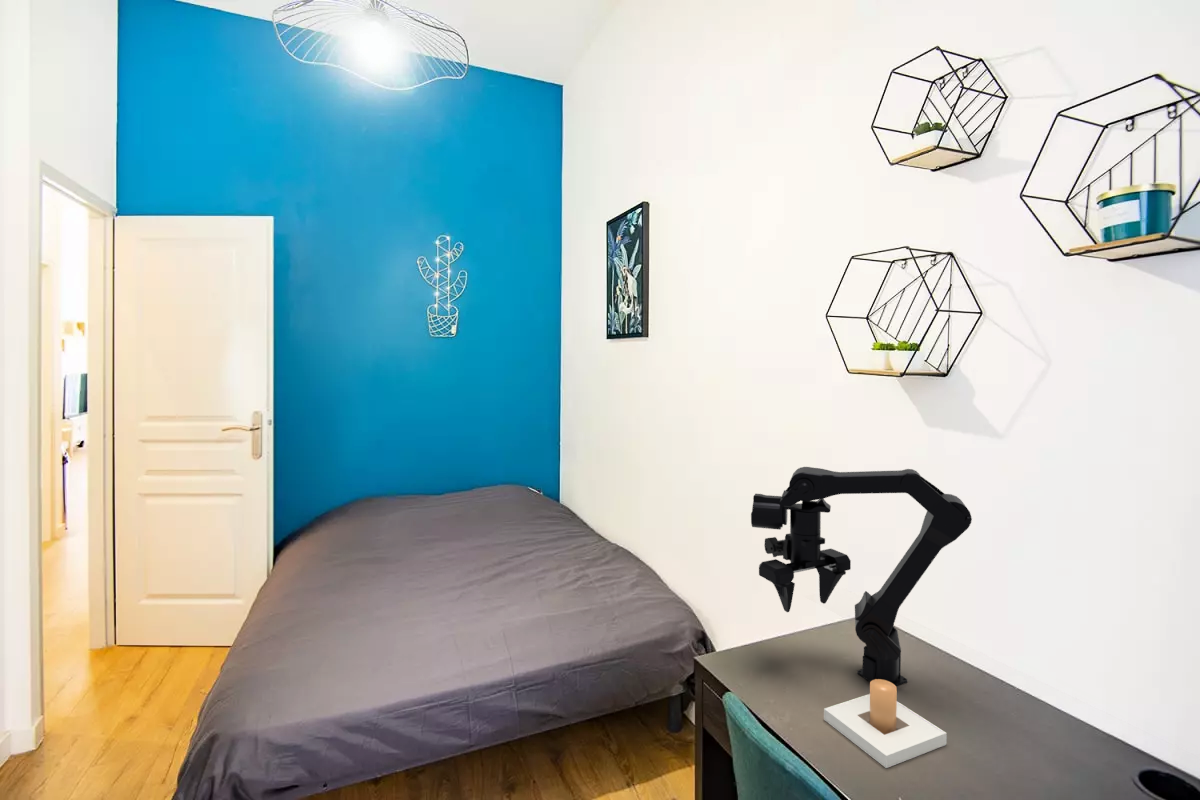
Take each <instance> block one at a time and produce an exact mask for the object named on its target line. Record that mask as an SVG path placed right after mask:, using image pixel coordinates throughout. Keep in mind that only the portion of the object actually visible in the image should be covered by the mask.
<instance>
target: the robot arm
mask: <svg viewBox="0 0 1200 800" xmlns="http://www.w3.org/2000/svg"><path fill="white" fill-rule="evenodd" d="M849 494H850V495H851V494H852V495H854V494H861V495H862V494H907V495H909V496H910V497H911V498H913V500H915V501H916V502H917V503H918V504H919V505H920V506H921V507H923V509H924V510H926V513H925V516H924V518H923V521H922V523H921V525H922V526H921V529H920V531H919V534H917V536H916V538H915V539H914V541H913V542H912V543H911V545H910V546H909V547H908V549H907V550H906V552H905V553H904V555H903V556H902V558H901V559H900V560H899V562H898V563H897V565H896V566H895V567H894V569H893V571H892V572H891V574H890V575H889V576H888V578H887V579H886V581H885V582H884V584H883V585H882V586H881V588H880V589H879V590H878V591H877V592H875V593H874V594H870V593H869V592H868V591H866V590H865V591H864V592H863V595H862V597H861V599H860V600H859V601H858V602H857V603H855V604H854V626H855V627H854V628H855V634H856V637H858V639H859V640H860V641H861V642H862V643H864V644H865V646H863V655H862V669H858V670H856V673H857V675H859V676H860V677H862V678H863V679H865V680H867V681H868V682H869V683H870V682H871V681H872V680H875V679H882V680H886V681H889V682H891V683H893V684H894V685H895V686H896V687H897V686H901V685H903V684H906V683H908V678H906V677H904V676H903V675H901V673H902V672H901V667H902V666H901V664H902V663H901V662H902V657H901V656H902V654H901V652H902V647H901V643H900V638H899V637H900V636H899V633H898V629H897V628H895V626H894V625H895V622H896V618H897V615H898V612H899V610H900V609H899V608H900V607H901V606H902V605H903V603H904V602H905V600H906V599H907V598H908V596H909V594H910V593H911V592H912V590H913V589H914V587H916V585H917V583H918V582H919V581H920V579H921V578H922V576H923V575H924V573H926V571H927V569H928V568H929V566H931V564H932V562H933V561H934V559H935V558H936V557H937V556H938V554H939V553H940V551H942V550H943V549H944V548H945V547H946V546H948V545H949V544H952V543H953V542H955V541H956V540H957V539H958V538H959V537H961V536H962V535H963V533H964V532H965V531H967V530H968V529H969V528H970V526H971V524H972V521H973V520H972V519H973V518H972V514H971V511H970V510H969V509H968V508H967V506H966V505H965V503H964V502H963V500H962V499H961V498H960V497H958V496H956V495H954V494H951V493H944V491H942V490H941V489H939V488H938V487H936V485H935V484H933V483H932V482H930V481H929V480H927V479H926V478H924V477H923V476H921V474H920V473H919V472H918V470H915V469H912V468H905V469H900V470H877V471H876V470H872V471H865V470H864V471H841V472H840V471H832V470H828V469H825V468H821V467H820V468H818V467H811V466H803V467H798V468H797V469H796V470H795V471H794V472H793V474H792V476H791V478H790V480H789V486H788V487H787V488H786V489H784V490H783V493H782V494H781V495H770V494H769V495H767V494H763V493H754V495H753V498H752V499H753V502H752V509H751V513H750V523H751V527H752V528H759V529H769V530H782V528H783V526H787V524H788V510H789V513H790V514H789V517H790V518H789V521H790V523H789V524H790V526H789V527H790V529H789V530H790V531H789V533H786V534H785V536H784V539H780V540H779V539H778V538H777V536H774V537H767V538H766V537H765V539H764V550H765V553H766V554H767V555H771V554H772V558H774V559H771V560H765V561H761V563H760V564H759V565H758V576H760V577H762V578H763V579H765V580H766V581H769V582H770V583H772V585H773V586H774V588H775V590H776V593H777V594H778V598H779V600H780V603H781V606H782V608H783V610H784V611H785V612H786V613H790V611H791V607H792V602H793V596H794V591H795V586H796V583H795V582H793V580H794V578H795V573H800V572H804V571H809V570H813V569H816V572H817V573H818V577H819V579H818V586H819V589H818V590H819V600H820V603H822V604H826V603H827V601H828V599H829V598H830V596H831V594H832V593H833V591H834V589H835V587H836V586H838V585H837V584H839V582H840V580H841V579H842V578H843V576H845V575H846V573H847V571H851V561H852V560H851V559H850V556H848V554H847V553H843V552H840V551H838V550H836V549H834V548H827V549H822V550H821V545H825V544H826V538H824V537H822V536H821V524H822V523H821V521H822V519H821V518H822V517H821V513H830V512H831V507H832V506H831V504H829V503H828V502H827V501H826V500H825V499H826V498H830V497H832V496H837V495H849ZM799 502H801V503H799ZM777 557H782V559H784V560H786V561H789V562H790V563H789V562H788V563H785V562H783V561H780V560H779V559H776V558H777Z"/></svg>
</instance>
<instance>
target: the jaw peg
mask: <svg viewBox="0 0 1200 800" xmlns="http://www.w3.org/2000/svg"><path fill="white" fill-rule="evenodd" d="M897 690H898V688H897V686H895V685H894V684H893V683H891V682H889V681H886V680H882V679H875V680H872V681H871V682H870V681H869V694H870V722H869V724H870V725H871V726H873V727H874V728H876V729H877V730H878V731H880V732H881V733H883V734H884V735H885V734H888V733H891V732H894V731H896V730H897V728H896V710H897V702H898V700H897V698H898V695H897V694H898V692H897Z"/></svg>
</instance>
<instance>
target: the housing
mask: <svg viewBox="0 0 1200 800" xmlns="http://www.w3.org/2000/svg"><path fill="white" fill-rule="evenodd" d="M823 720H824V721H825V722H826V723H828V724H829V726H831V727H833V728H834V729H835V730H836V731H838V732H839V733H841V734H842V735H843V736H845V738H847V739H848V740H849V741H850V742H852V743H853V744H854V745H856V746H857V747H858V748H860V749H861V750H862V751H863V752H865V753H866V754H867V755H869V756H870V757H871V758H873V759H874V760H875V761H876V762H877V763H879V764H880V765H882V766H883V767H884V768H885V769H888V768H890V767H893V766H895V765H898V764H901V763H903V762H905V761H906V762H907V761H909V760H911V759H914V758H916V757H919V756H922V755H924V754H926V753H929V752H931V751H932V752H933V751H934V750H936V749H939V748H942V747H945V746H947V737H948V736H947V734H948V733H947V732H946V731H944V730H942V729H941V728H939V727H938V726H936V725H935V724H933V723H932V722H930V721H929V720H927V719H925V718H924V717H923V716H921V715H920V714H918V713H916V712H914V710H911V709H910V708H909V707H907V706H905V705H904V704H902V703H900V702H899V701H897V710H896V731H894V732H891V733H888V734H885V735H884V734H883V733H881V732H880V731H878V730H877V729H876V728H874V727H873V726H871V725H870V693H869V694H865V695H862V696H859V697H856V698H853V699H850V700H846V701H844V702H841V703H837V704H834V705H831V706H827V707H824V708H823Z"/></svg>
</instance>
